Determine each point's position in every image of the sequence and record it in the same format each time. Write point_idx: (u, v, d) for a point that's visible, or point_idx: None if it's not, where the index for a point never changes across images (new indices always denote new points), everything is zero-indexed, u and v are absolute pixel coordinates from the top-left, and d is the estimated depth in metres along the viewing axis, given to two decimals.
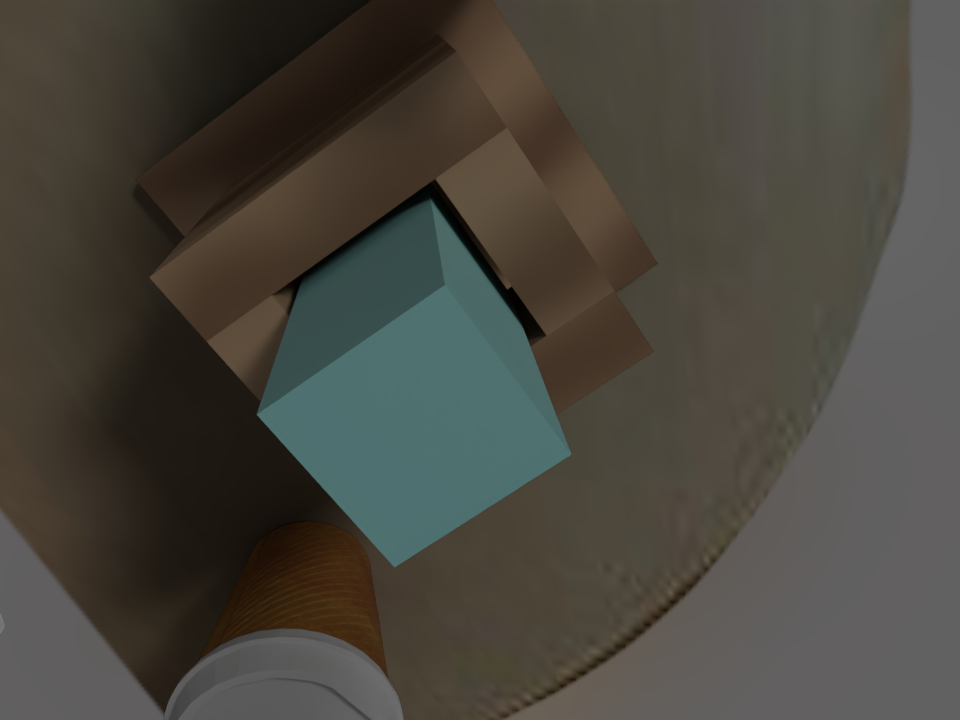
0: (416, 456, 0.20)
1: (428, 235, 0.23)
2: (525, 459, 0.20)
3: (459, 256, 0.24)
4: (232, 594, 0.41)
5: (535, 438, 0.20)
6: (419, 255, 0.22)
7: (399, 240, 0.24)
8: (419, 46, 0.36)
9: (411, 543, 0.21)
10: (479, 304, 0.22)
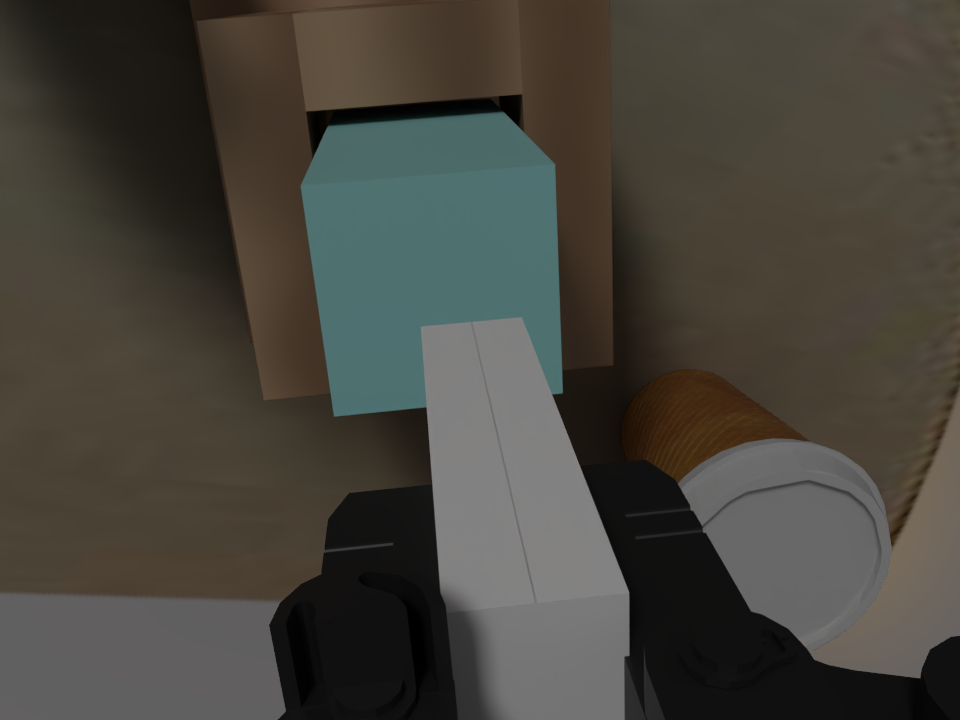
0: (461, 309, 0.19)
1: None
2: (530, 211, 0.18)
3: (366, 138, 0.22)
4: None
5: (514, 189, 0.18)
6: None
7: None
8: None
9: (548, 364, 0.19)
10: (387, 154, 0.20)
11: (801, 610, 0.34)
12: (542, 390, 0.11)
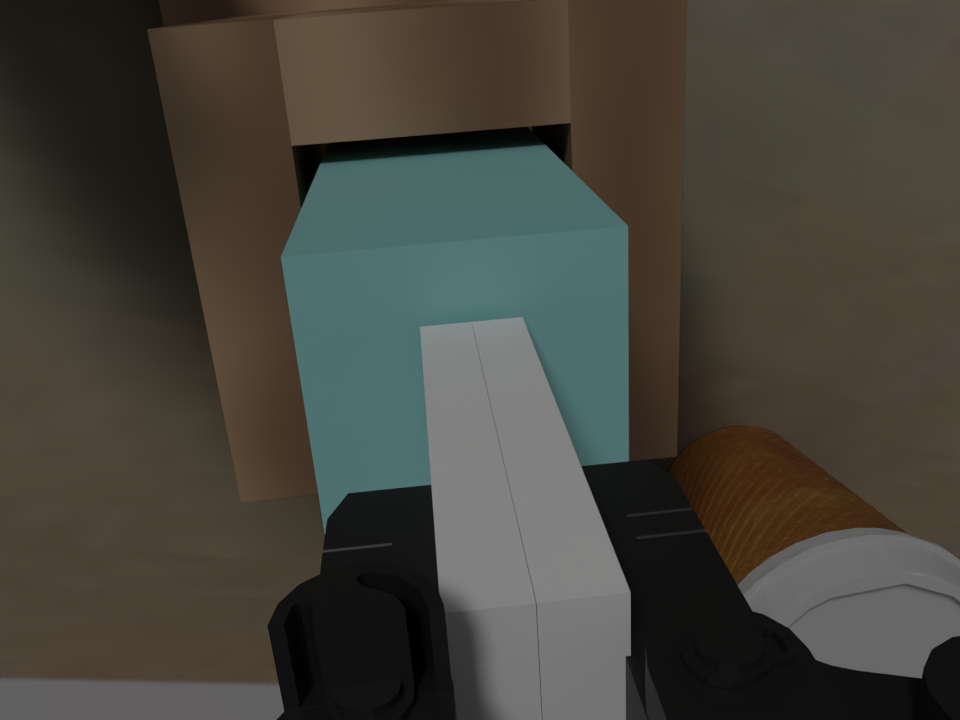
0: None
1: None
2: (593, 289, 0.13)
3: (371, 175, 0.18)
4: None
5: (571, 260, 0.13)
6: None
7: None
8: None
9: None
10: (398, 203, 0.15)
11: None
12: (543, 390, 0.11)
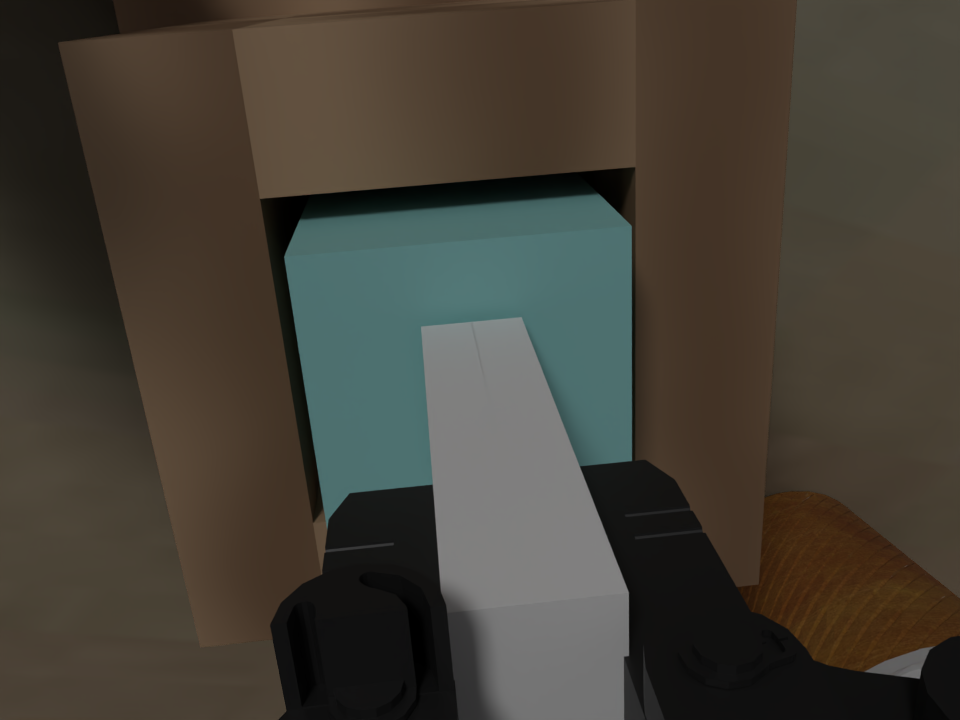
0: None
1: None
2: (596, 289, 0.13)
3: None
4: None
5: (575, 260, 0.13)
6: None
7: None
8: None
9: None
10: (402, 203, 0.15)
11: None
12: (541, 390, 0.11)
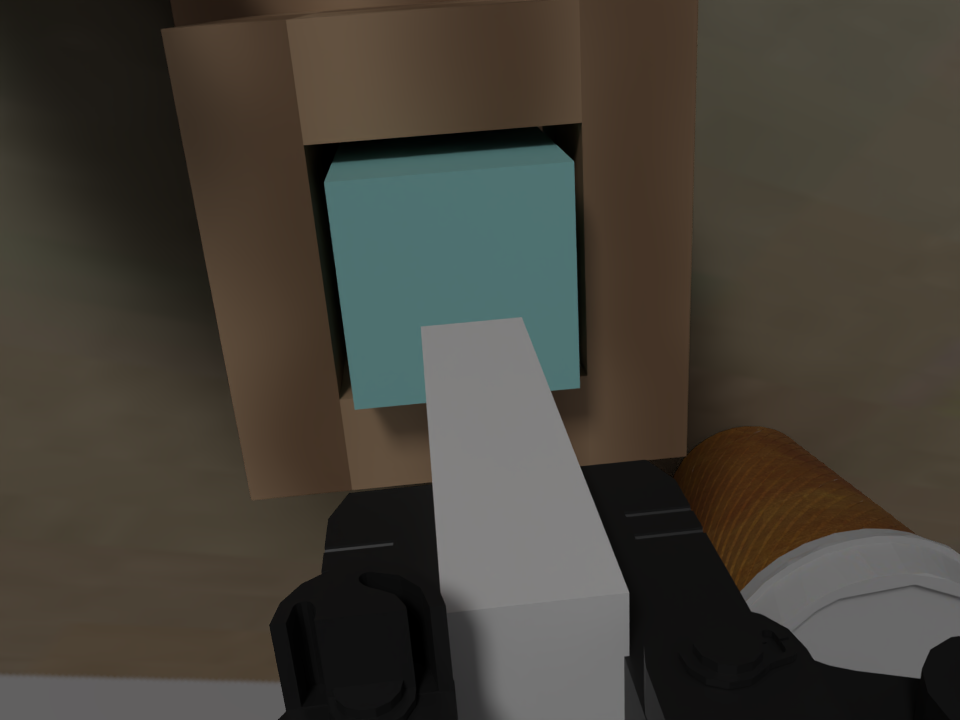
0: (480, 304, 0.19)
1: None
2: (549, 208, 0.18)
3: None
4: None
5: (533, 186, 0.18)
6: None
7: None
8: None
9: (565, 359, 0.19)
10: (408, 152, 0.20)
11: None
12: (541, 390, 0.11)
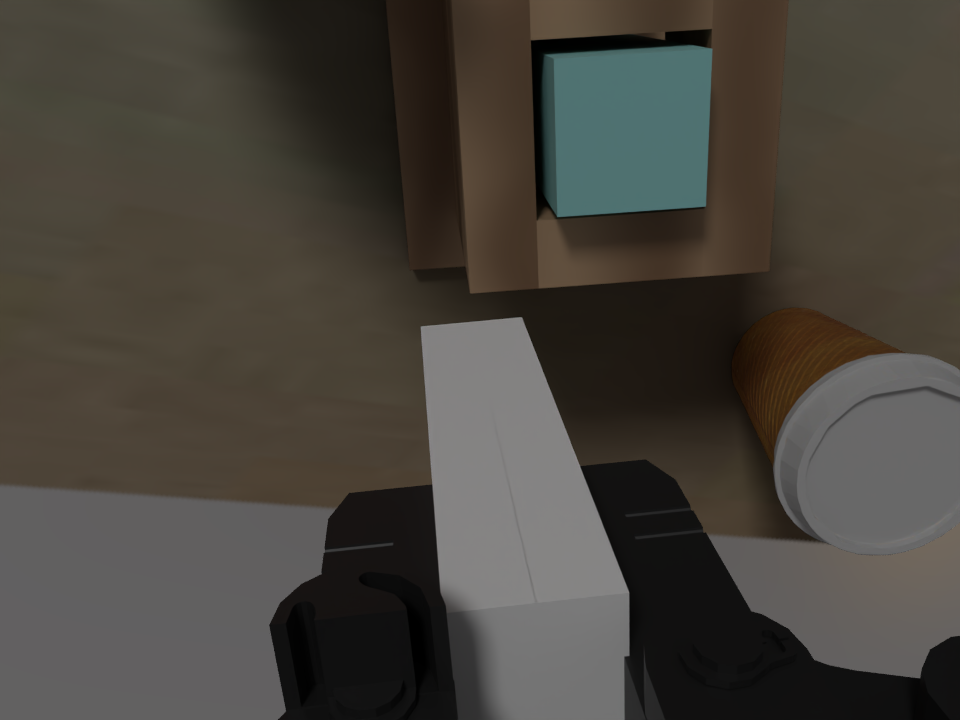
0: (645, 145, 0.29)
1: (535, 57, 0.32)
2: (694, 80, 0.28)
3: (563, 46, 0.33)
4: (752, 422, 0.45)
5: (685, 64, 0.28)
6: (540, 69, 0.31)
7: None
8: None
9: (697, 185, 0.29)
10: (591, 50, 0.30)
11: (911, 509, 0.39)
12: (542, 390, 0.11)
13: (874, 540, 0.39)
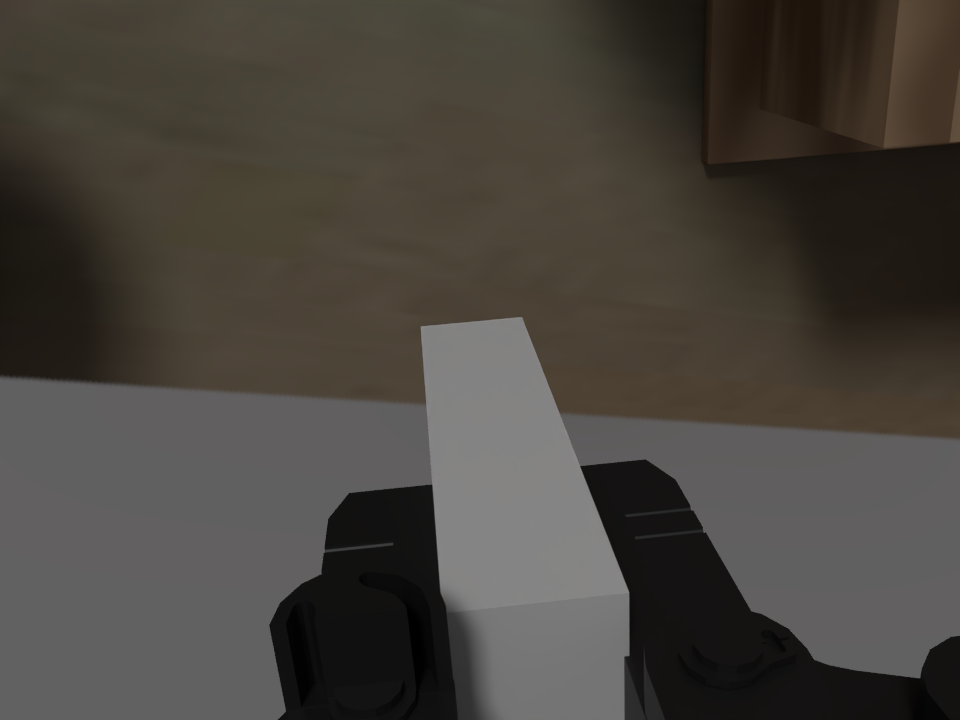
0: None
1: None
2: None
3: None
4: None
5: None
6: None
7: None
8: None
9: None
10: None
11: None
12: (542, 390, 0.11)
13: None
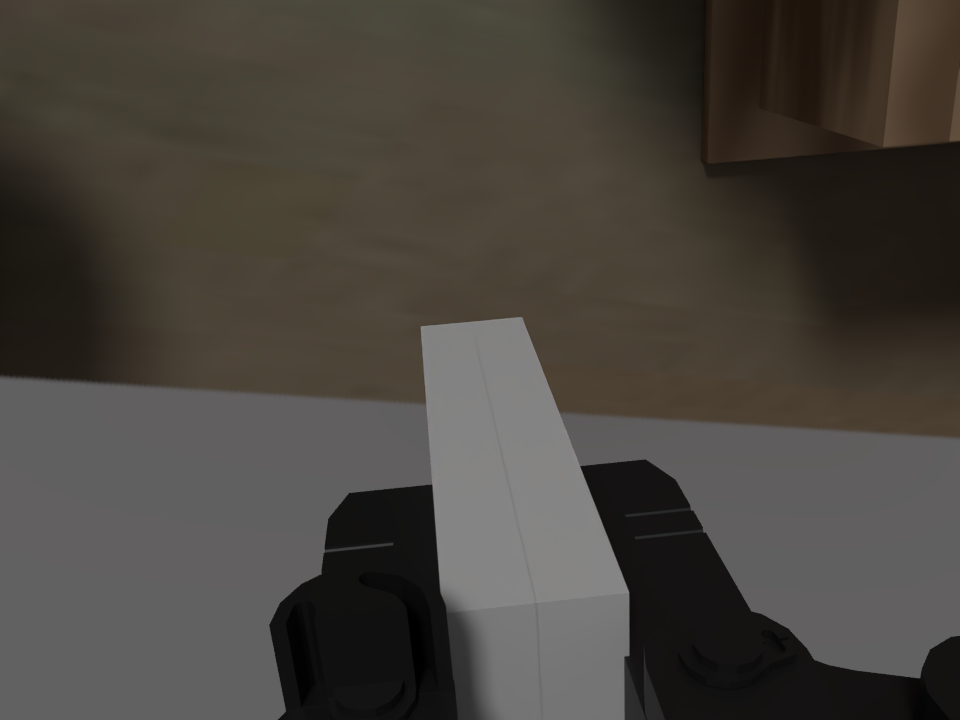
0: None
1: None
2: None
3: None
4: None
5: None
6: None
7: None
8: None
9: None
10: None
11: None
12: (542, 390, 0.11)
13: None
